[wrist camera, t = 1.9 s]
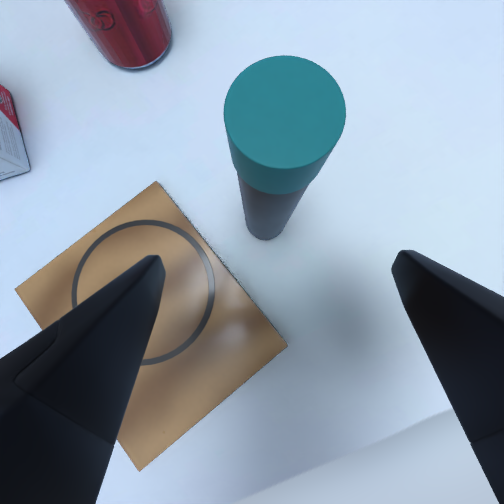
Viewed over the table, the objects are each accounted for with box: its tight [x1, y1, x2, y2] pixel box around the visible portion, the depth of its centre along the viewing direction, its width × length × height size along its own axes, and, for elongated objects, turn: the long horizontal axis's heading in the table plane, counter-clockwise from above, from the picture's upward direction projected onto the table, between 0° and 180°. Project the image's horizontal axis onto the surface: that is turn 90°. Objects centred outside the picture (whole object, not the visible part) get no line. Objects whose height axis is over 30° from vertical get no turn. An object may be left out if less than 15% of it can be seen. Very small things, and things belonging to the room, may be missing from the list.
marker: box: [224, 56, 346, 240], centre depth 13 cm, size 3×3×14 cm
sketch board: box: [15, 181, 288, 472], centre depth 19 cm, size 18×15×1 cm
